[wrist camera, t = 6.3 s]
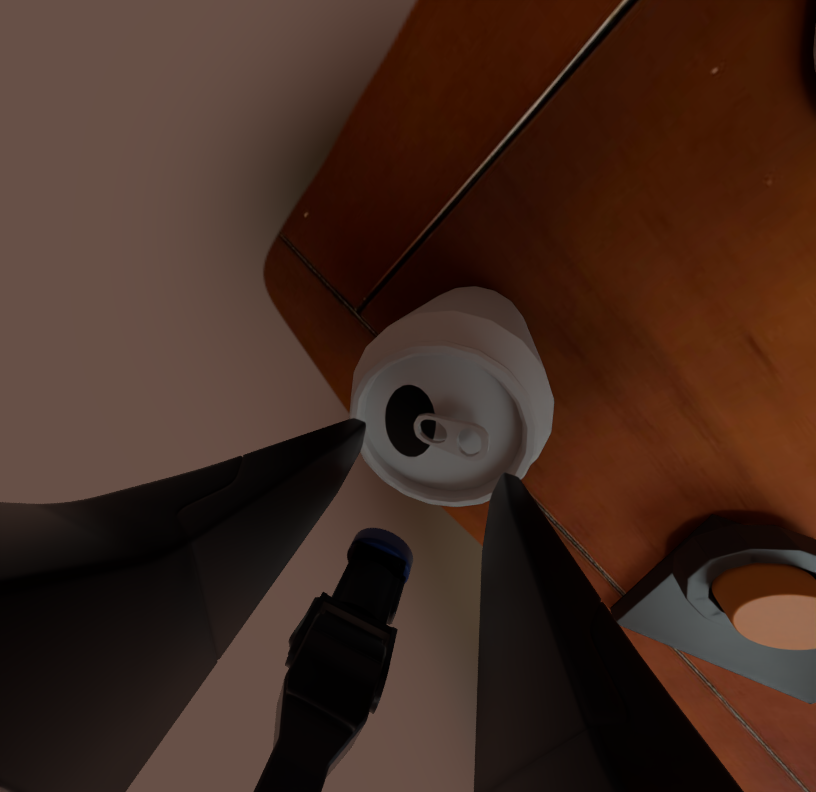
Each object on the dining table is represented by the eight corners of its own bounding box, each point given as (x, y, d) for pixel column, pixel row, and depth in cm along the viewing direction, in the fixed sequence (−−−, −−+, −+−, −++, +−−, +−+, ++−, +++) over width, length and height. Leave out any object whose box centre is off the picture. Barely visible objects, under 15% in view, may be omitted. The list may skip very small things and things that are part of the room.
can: (418, 281, 19) (319, 308, 9) (540, 289, 17) (603, 335, 7) (412, 385, 22) (336, 498, 12) (514, 401, 21) (531, 548, 10)
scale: (598, 604, 26) (609, 642, 24) (712, 494, 19) (745, 530, 17) (797, 685, 24) (834, 737, 21) (1005, 592, 17) (1097, 652, 15)
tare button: (692, 593, 20) (711, 625, 18) (748, 549, 18) (776, 582, 16) (773, 624, 19) (801, 661, 18) (842, 583, 17) (883, 621, 15)
